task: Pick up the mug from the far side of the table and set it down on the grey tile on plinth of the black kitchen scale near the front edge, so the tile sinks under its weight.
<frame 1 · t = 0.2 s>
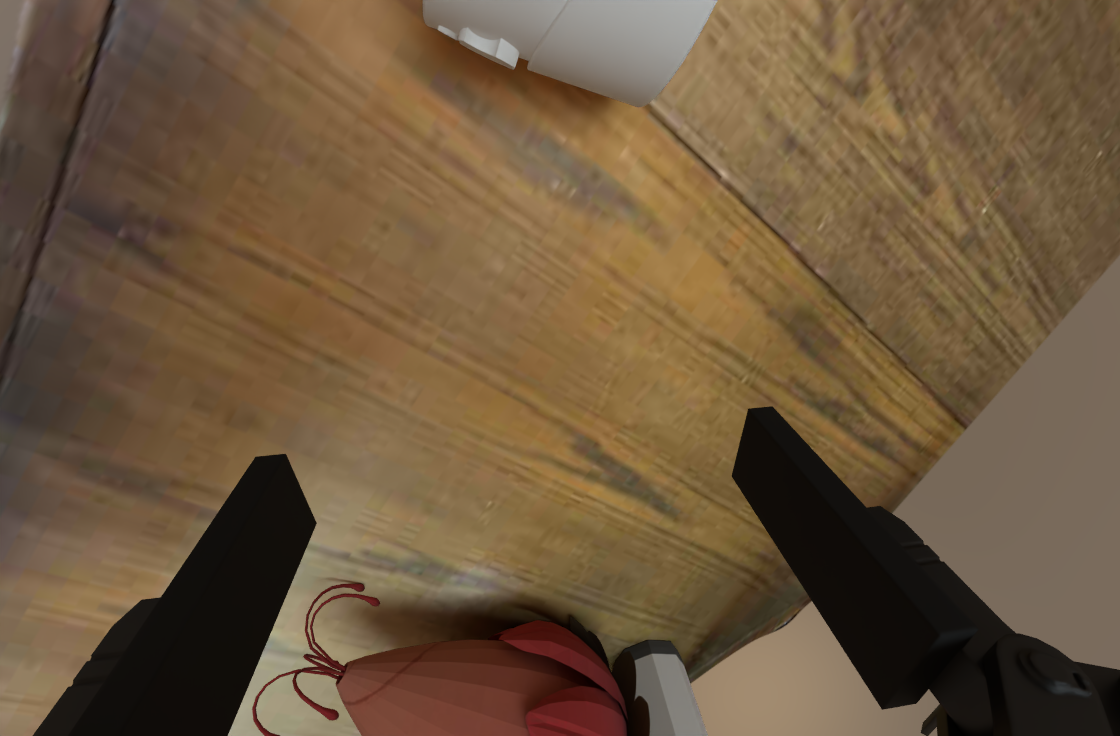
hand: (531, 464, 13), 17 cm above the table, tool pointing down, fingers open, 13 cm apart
decorative flower: (456, 628, 45), on the table
wine bottle: (646, 655, 53), on the table
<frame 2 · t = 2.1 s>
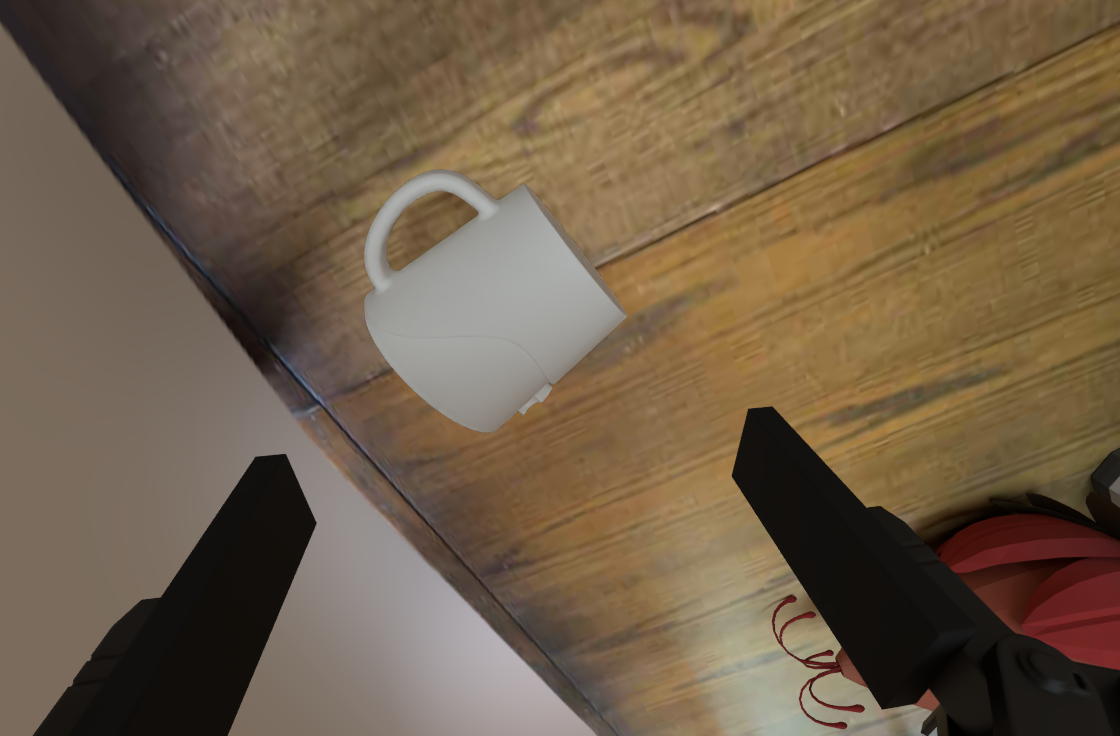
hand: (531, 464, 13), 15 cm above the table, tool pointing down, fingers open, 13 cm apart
decorative flower: (893, 570, 48), on the table
mug: (489, 267, 25), on the table
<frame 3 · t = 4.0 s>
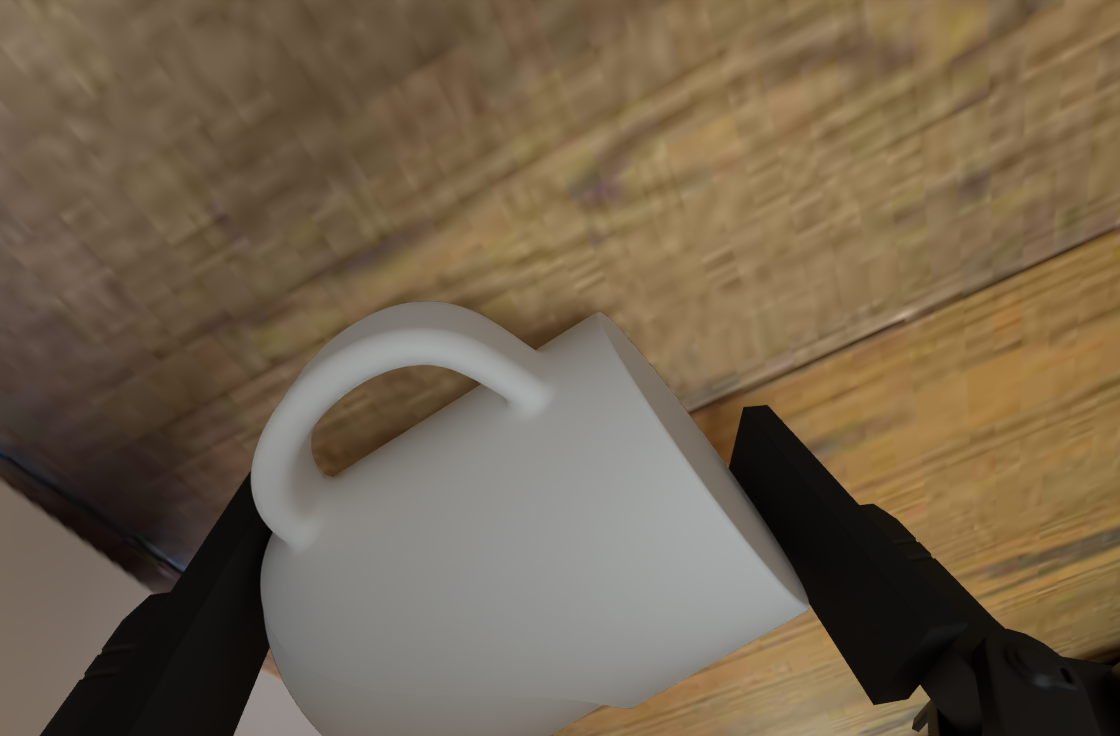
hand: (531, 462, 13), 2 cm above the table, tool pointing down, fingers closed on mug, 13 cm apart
mug: (510, 415, 15), on the table, touching gripper
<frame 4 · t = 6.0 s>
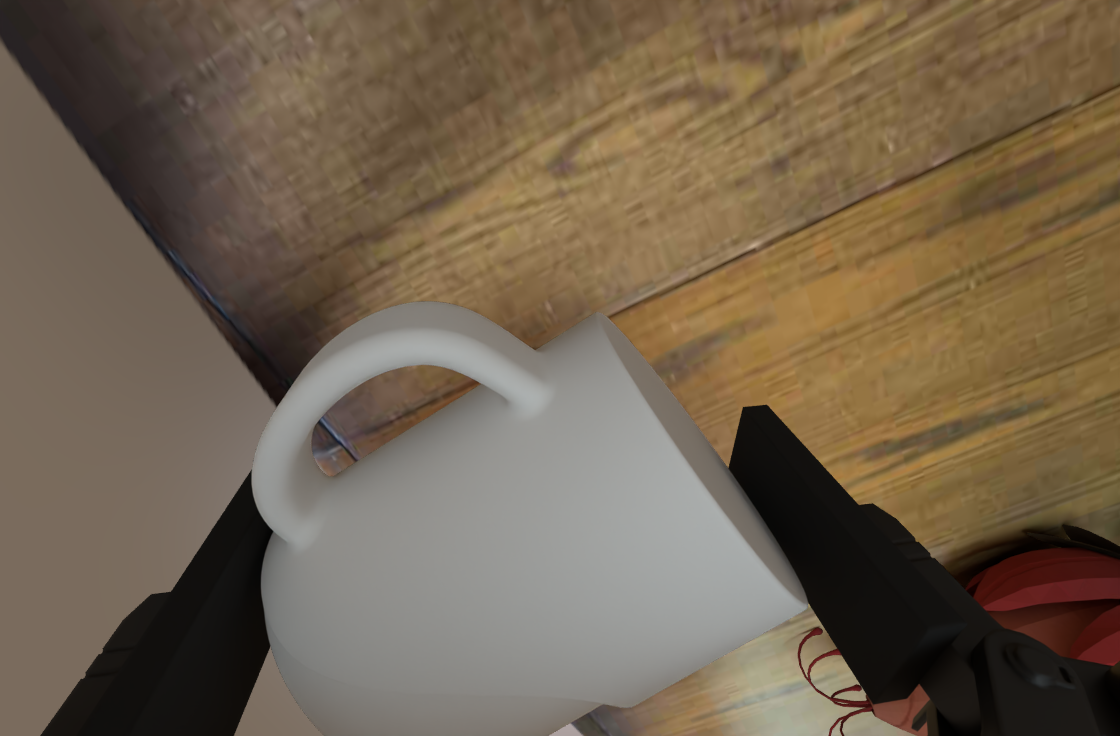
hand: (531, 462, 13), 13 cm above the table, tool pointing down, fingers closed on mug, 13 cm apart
decorative flower: (923, 601, 46), on the table
mug: (510, 415, 15), point 11 cm above the table, touching gripper
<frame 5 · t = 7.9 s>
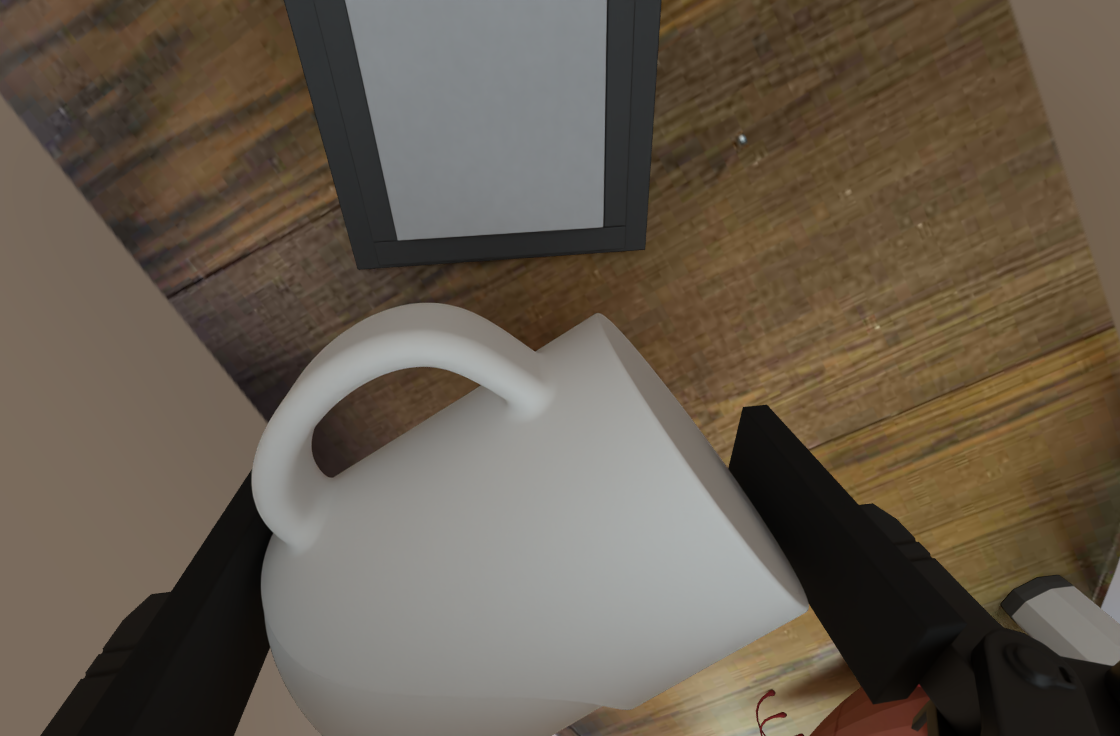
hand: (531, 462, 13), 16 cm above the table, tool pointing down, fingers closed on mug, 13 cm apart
decorative flower: (852, 669, 61), on the table
scale: (491, 114, 22), on the table
wine bottle: (1030, 592, 56), on the table
grey tile on plinth: (491, 115, 20), point 3 cm above the table, slide at 0.0 cm
mug: (510, 416, 15), point 14 cm above the table, touching gripper
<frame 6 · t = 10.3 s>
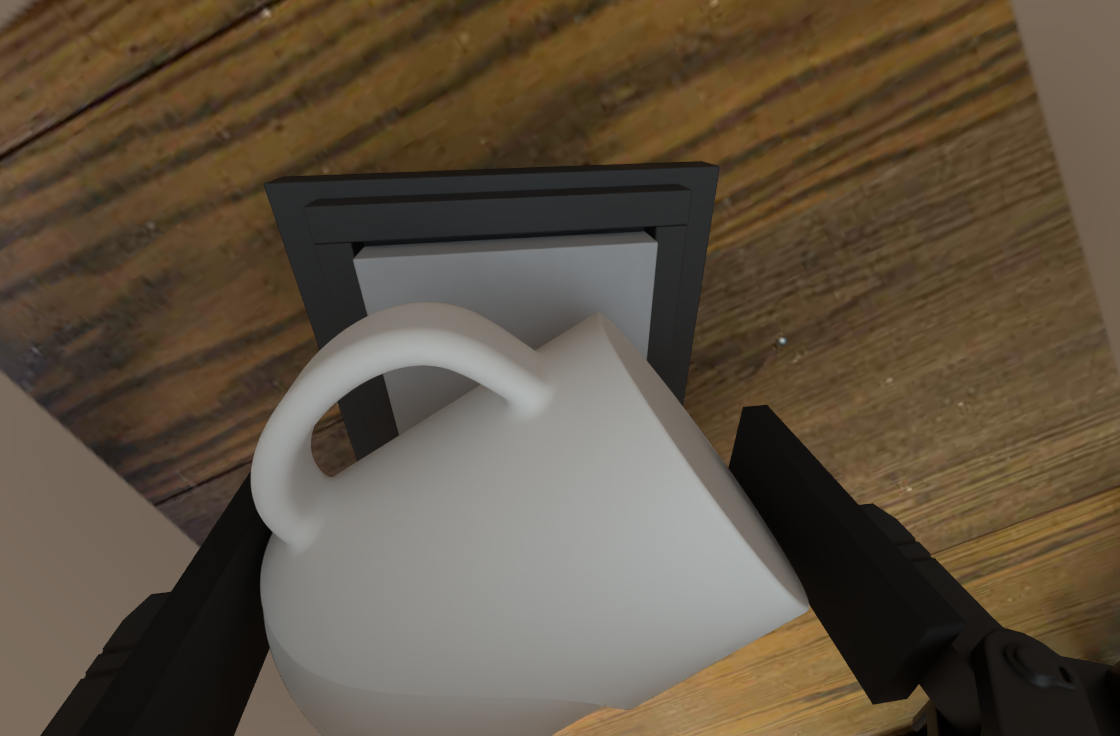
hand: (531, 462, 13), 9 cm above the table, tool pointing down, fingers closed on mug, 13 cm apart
scale: (515, 332, 21), on the table
grey tile on plinth: (519, 369, 18), point 3 cm above the table, slide at 0.0 cm
mug: (510, 415, 15), point 7 cm above the table, touching gripper
when the fingers open (6 cm above the table, at t = 11.8 s): mug stays where it is, resting on grey tile on plinth.
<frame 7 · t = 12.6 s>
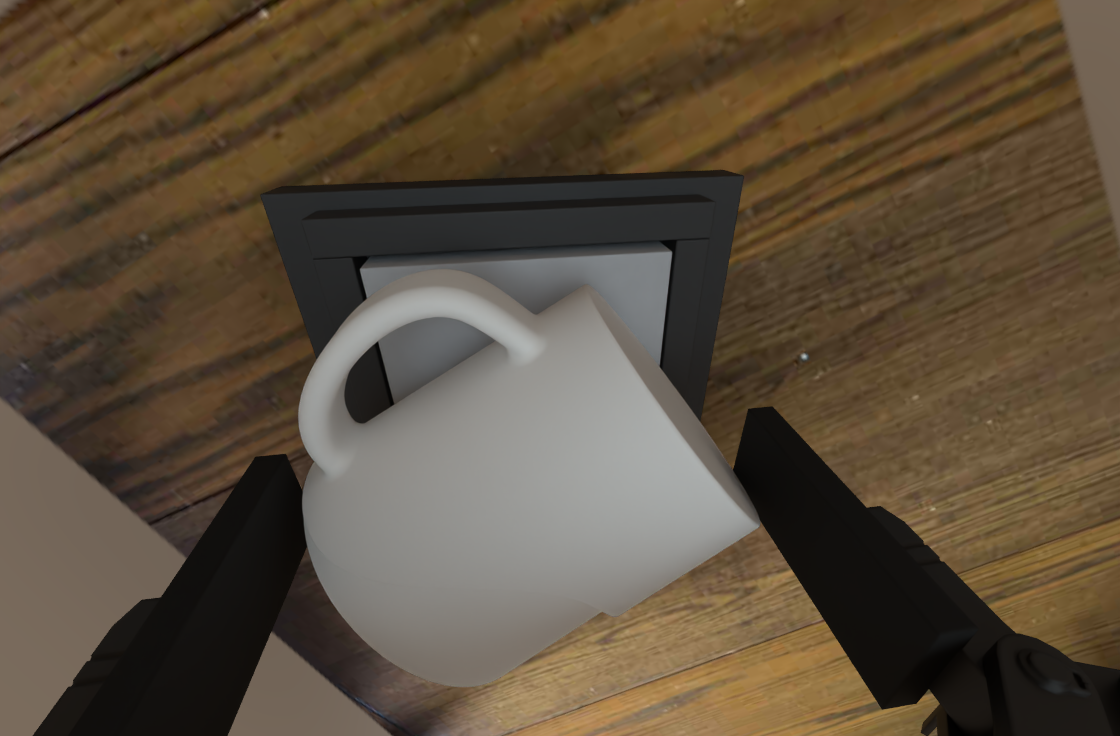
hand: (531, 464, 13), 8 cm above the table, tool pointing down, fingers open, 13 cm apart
scale: (524, 348, 20), on the table
grey tile on plinth: (528, 379, 17), point 3 cm above the table, slide at -0.6 cm, touching mug
mug: (513, 383, 17), point 3 cm above the table, touching gripper, grey tile on plinth
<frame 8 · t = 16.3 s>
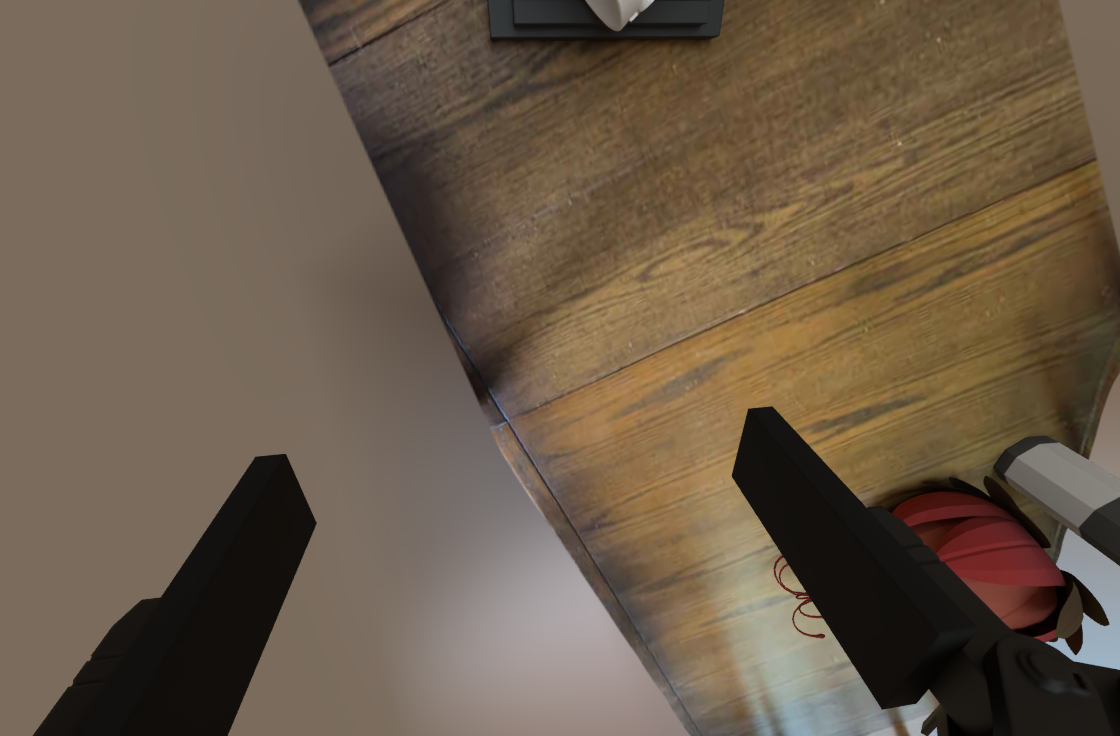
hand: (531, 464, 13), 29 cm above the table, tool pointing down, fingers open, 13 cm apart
decorative flower: (860, 533, 67), on the table
wine bottle: (1020, 455, 63), on the table
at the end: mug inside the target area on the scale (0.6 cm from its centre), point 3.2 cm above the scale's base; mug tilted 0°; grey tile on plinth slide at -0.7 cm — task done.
